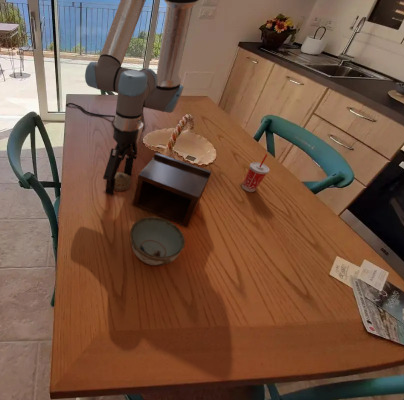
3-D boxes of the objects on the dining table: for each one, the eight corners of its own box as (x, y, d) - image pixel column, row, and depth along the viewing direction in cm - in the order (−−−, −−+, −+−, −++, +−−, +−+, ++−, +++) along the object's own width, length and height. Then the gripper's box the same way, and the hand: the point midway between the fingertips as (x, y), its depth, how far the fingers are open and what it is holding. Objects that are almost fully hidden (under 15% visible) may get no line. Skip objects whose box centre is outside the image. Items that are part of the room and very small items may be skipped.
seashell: (134, 173, 96) (130, 177, 89) (130, 188, 98) (127, 193, 91) (112, 168, 98) (107, 171, 90) (109, 182, 100) (104, 187, 92)
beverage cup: (259, 188, 97) (279, 154, 88) (254, 195, 94) (273, 161, 84) (243, 180, 100) (260, 147, 91) (236, 187, 97) (254, 154, 87)
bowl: (165, 286, 65) (173, 267, 60) (117, 261, 70) (120, 241, 65) (183, 249, 74) (192, 230, 69) (139, 229, 79) (144, 209, 73)
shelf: (132, 204, 87) (139, 171, 78) (148, 184, 95) (155, 152, 87) (186, 227, 80) (200, 194, 71) (198, 203, 89) (211, 171, 80)
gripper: (118, 148, 71) (111, 206, 85) (153, 116, 88) (142, 170, 102) (94, 139, 74) (91, 197, 88) (133, 110, 90) (125, 163, 104)
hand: (118, 183), depth 95 cm, fingers open, 13 cm apart
